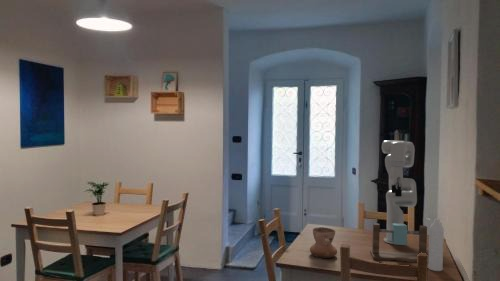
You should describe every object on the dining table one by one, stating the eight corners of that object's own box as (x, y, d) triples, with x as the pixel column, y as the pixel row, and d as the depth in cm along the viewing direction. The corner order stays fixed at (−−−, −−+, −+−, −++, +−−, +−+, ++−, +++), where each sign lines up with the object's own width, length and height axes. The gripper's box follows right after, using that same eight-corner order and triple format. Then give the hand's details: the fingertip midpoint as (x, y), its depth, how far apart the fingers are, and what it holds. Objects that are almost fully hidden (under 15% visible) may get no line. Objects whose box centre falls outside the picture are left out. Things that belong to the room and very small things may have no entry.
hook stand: (370, 252, 223) (370, 221, 222) (423, 255, 219) (424, 223, 218) (373, 259, 211) (374, 226, 211) (429, 263, 207) (430, 229, 206)
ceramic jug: (340, 261, 208) (341, 233, 208) (312, 260, 207) (313, 233, 207) (332, 251, 226) (333, 225, 226) (306, 250, 225) (307, 225, 225)
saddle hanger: (391, 241, 218) (392, 223, 218) (404, 242, 217) (404, 223, 217) (394, 244, 212) (394, 225, 212) (406, 245, 211) (407, 226, 211)
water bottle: (438, 266, 201) (440, 217, 201) (444, 271, 195) (446, 220, 194) (421, 266, 202) (422, 217, 201) (426, 271, 195) (428, 220, 194)
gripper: (387, 162, 232) (386, 191, 233) (393, 165, 215) (392, 197, 216) (400, 162, 231) (399, 191, 232) (408, 166, 214) (407, 198, 215)
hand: (396, 194), depth 224 cm, fingers open, 9 cm apart
